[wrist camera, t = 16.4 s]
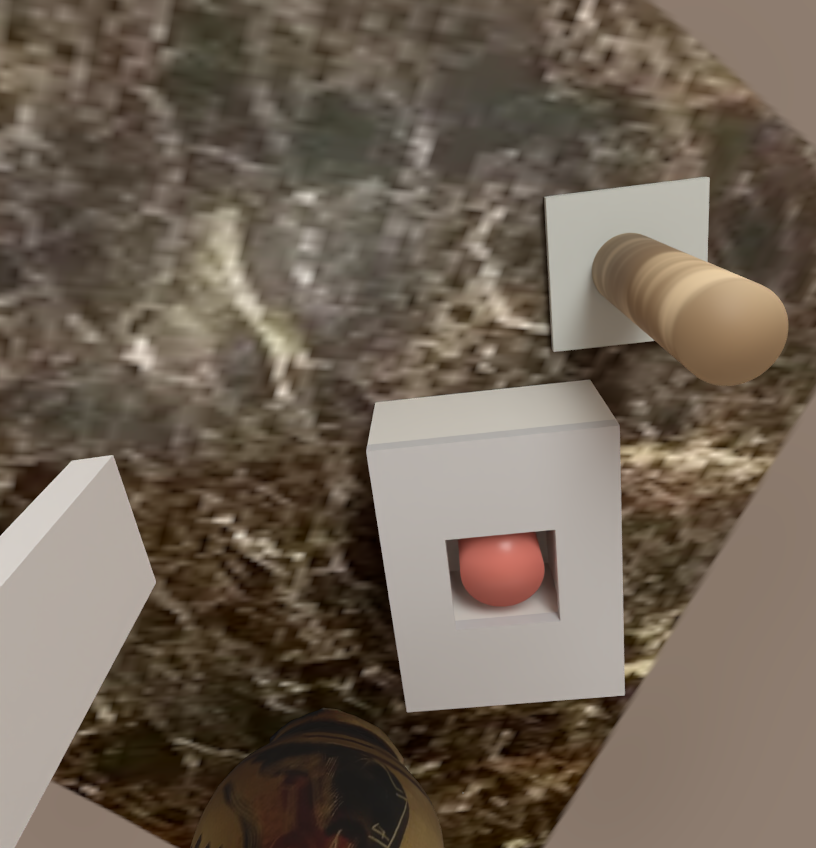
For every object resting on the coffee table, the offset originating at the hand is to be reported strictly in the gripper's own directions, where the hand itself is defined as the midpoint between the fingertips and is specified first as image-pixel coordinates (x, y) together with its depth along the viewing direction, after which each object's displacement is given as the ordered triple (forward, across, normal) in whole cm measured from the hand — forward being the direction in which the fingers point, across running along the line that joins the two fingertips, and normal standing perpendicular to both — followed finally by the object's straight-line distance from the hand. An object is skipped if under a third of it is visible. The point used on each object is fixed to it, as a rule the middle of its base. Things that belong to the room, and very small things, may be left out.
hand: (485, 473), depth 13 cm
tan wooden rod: (+26, +10, -3) cm, 28 cm away
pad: (+27, +10, -3) cm, 29 cm away
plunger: (+26, +1, -17) cm, 31 cm away
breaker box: (+27, +1, -17) cm, 32 cm away
